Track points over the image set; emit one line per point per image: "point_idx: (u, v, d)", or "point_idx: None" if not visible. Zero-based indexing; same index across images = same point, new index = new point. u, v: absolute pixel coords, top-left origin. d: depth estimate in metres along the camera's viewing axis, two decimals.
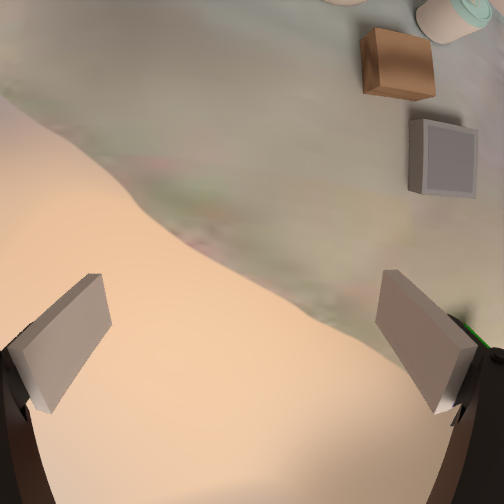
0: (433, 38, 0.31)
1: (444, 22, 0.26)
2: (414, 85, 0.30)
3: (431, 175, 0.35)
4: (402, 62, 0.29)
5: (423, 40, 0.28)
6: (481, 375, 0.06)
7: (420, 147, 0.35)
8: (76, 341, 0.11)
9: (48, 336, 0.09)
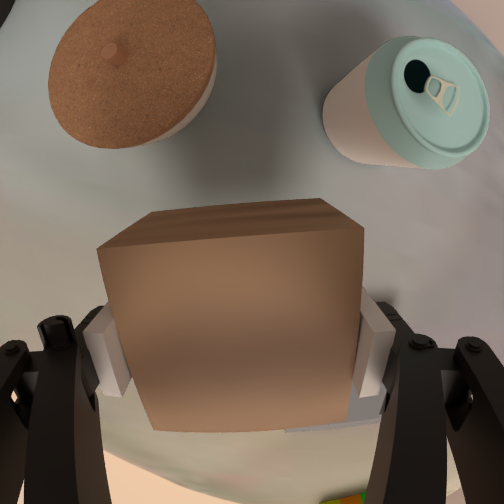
0: (354, 159, 0.22)
1: (362, 147, 0.16)
2: (266, 418, 0.11)
3: None
4: (219, 365, 0.10)
5: (330, 240, 0.09)
6: (400, 364, 0.07)
7: None
8: None
9: None
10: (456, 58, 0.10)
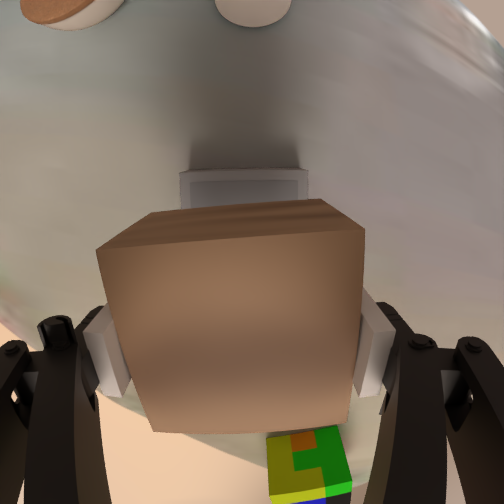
0: (239, 22, 0.22)
1: None
2: (265, 419, 0.11)
3: None
4: (218, 367, 0.10)
5: (330, 241, 0.09)
6: (400, 364, 0.07)
7: None
8: None
9: None
10: None
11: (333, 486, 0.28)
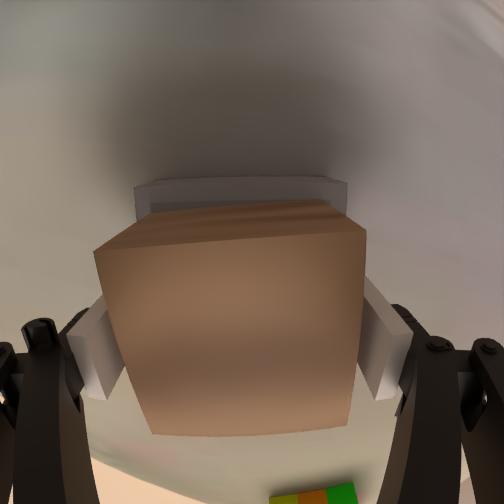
0: None
1: None
2: (265, 422, 0.11)
3: None
4: (217, 370, 0.10)
5: (331, 243, 0.09)
6: (417, 365, 0.07)
7: None
8: None
9: (105, 323, 0.10)
10: None
11: None
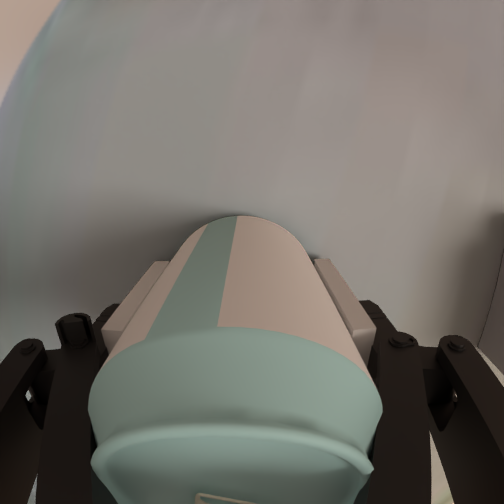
0: None
1: None
2: None
3: None
4: None
5: None
6: (380, 362, 0.07)
7: None
8: None
9: None
10: (115, 468, 0.04)
11: None
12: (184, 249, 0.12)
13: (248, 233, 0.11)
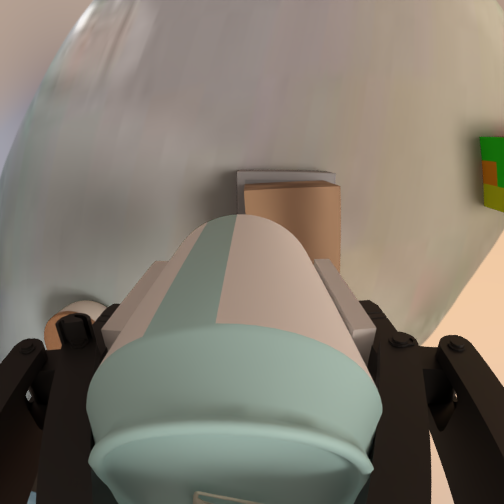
0: None
1: None
2: (331, 224, 0.26)
3: None
4: None
5: (248, 203, 0.26)
6: (380, 362, 0.07)
7: None
8: None
9: None
10: (113, 466, 0.04)
11: None
12: (183, 247, 0.11)
13: (247, 231, 0.11)
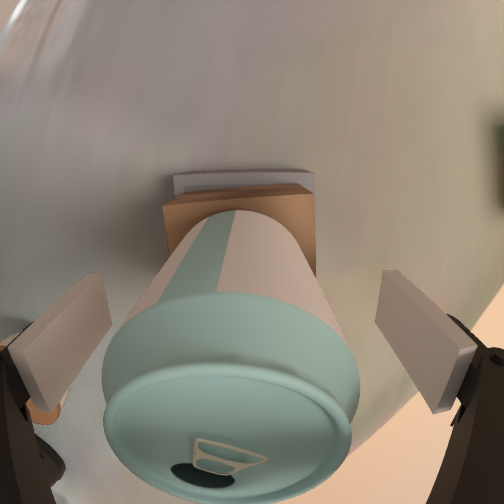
0: None
1: None
2: None
3: None
4: None
5: (170, 224, 0.16)
6: (481, 375, 0.06)
7: None
8: (76, 341, 0.11)
9: (49, 336, 0.09)
10: (125, 418, 0.06)
11: None
12: (187, 238, 0.13)
13: (245, 224, 0.13)
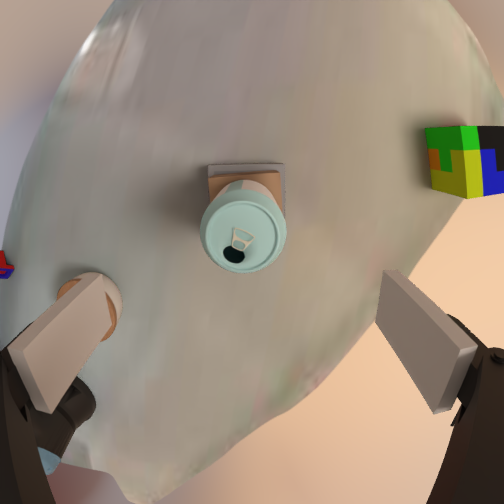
0: None
1: None
2: None
3: None
4: None
5: (211, 187, 0.35)
6: (481, 375, 0.06)
7: None
8: (76, 341, 0.11)
9: (48, 336, 0.09)
10: (213, 224, 0.24)
11: (465, 142, 0.33)
12: (224, 188, 0.31)
13: (248, 182, 0.31)
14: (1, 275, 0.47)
